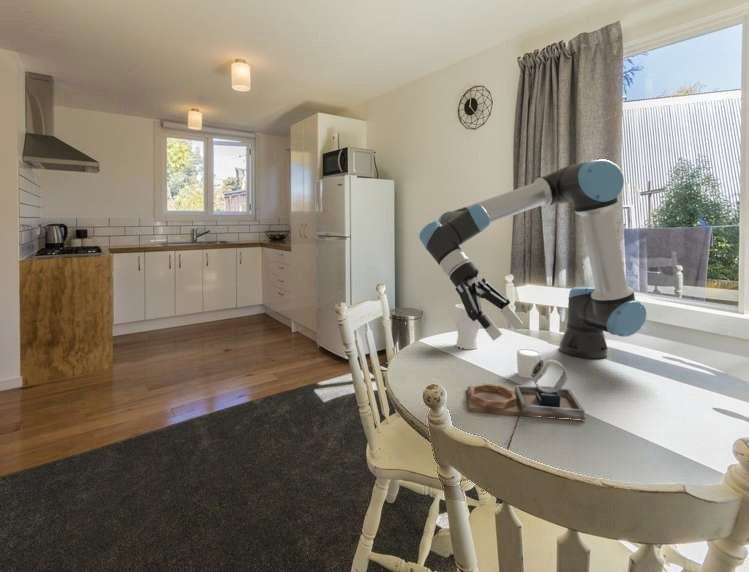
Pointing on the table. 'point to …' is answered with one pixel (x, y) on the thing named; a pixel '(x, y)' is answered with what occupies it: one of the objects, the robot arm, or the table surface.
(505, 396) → the sorting board
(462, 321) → the cup
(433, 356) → the table surface
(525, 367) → the white cylinder
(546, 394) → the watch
